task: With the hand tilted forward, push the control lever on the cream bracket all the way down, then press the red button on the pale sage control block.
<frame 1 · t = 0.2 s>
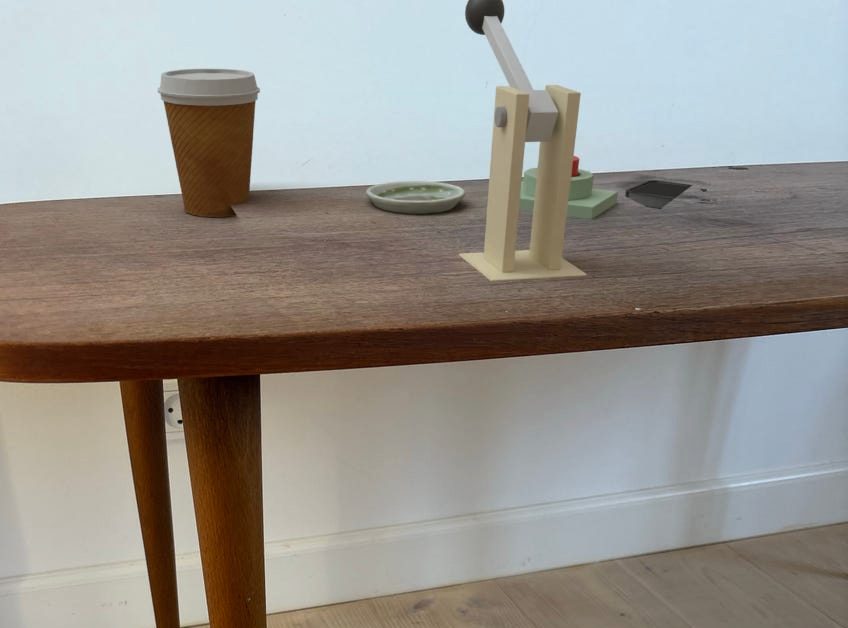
start button: (559, 167, 102), point 5 cm above the table, slide at 0.2 cm
saucer: (414, 218, 104), on the table
control block: (554, 216, 104), on the table
lever bracket: (520, 278, 86), on the table
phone: (703, 207, 109), on the table
disposable coffee cup: (216, 212, 105), on the table
control lever: (508, 61, 83), point 15 cm above the table, hinge at 25.0°
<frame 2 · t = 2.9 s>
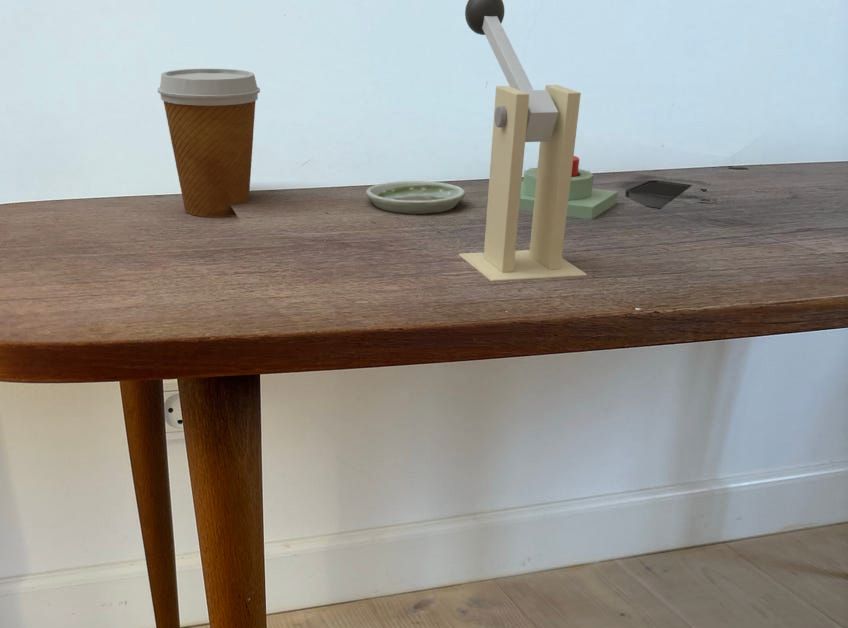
nothing on the table moved.
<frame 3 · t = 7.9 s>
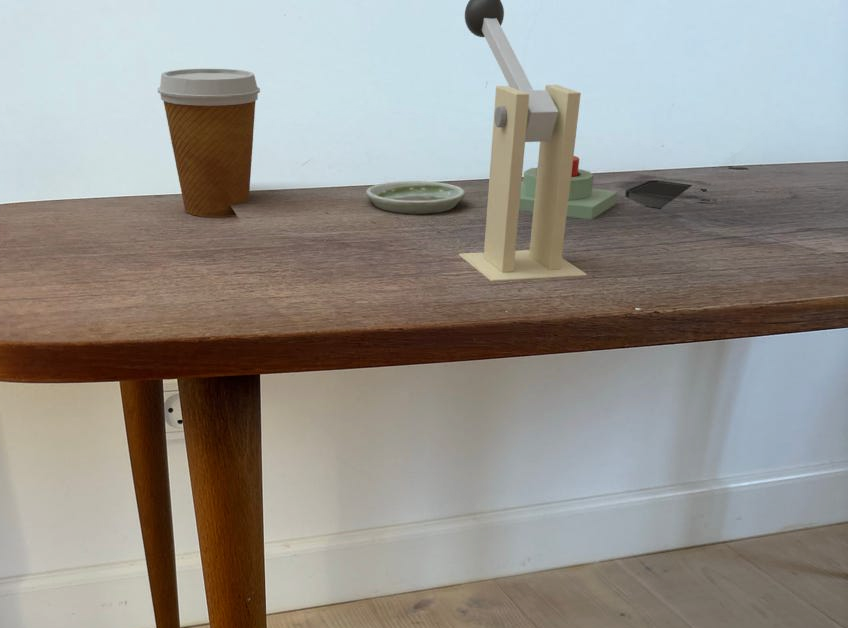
control lever: (508, 62, 83), point 15 cm above the table, hinge at 24.2°, touching gripper
everything else where it was.
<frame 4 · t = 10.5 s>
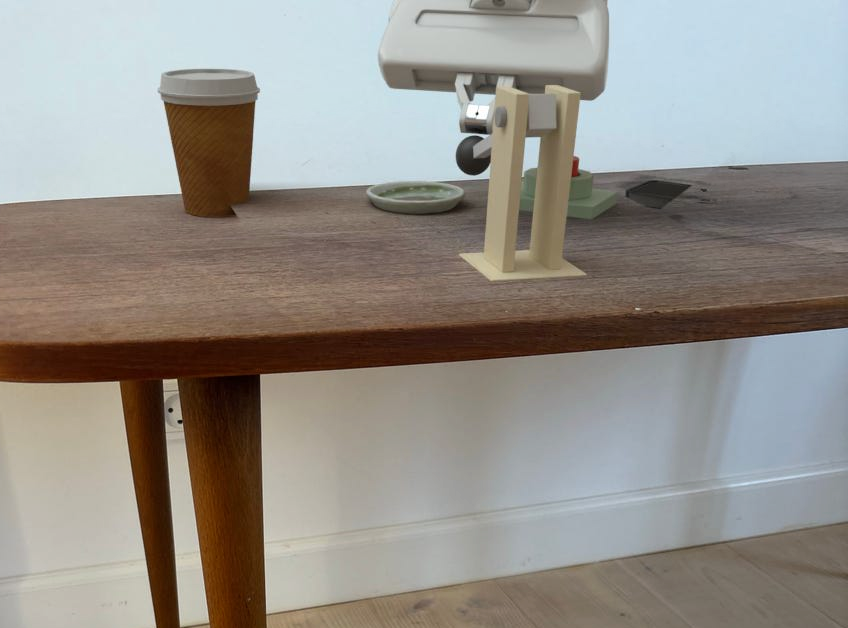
hand: (475, 129, 91), 9 cm above the table, tool tilted 45°, fingers closed, pressing on control lever
control lever: (501, 137, 86), point 9 cm above the table, hinge at -20.7°, touching gripper
everything else where it was.
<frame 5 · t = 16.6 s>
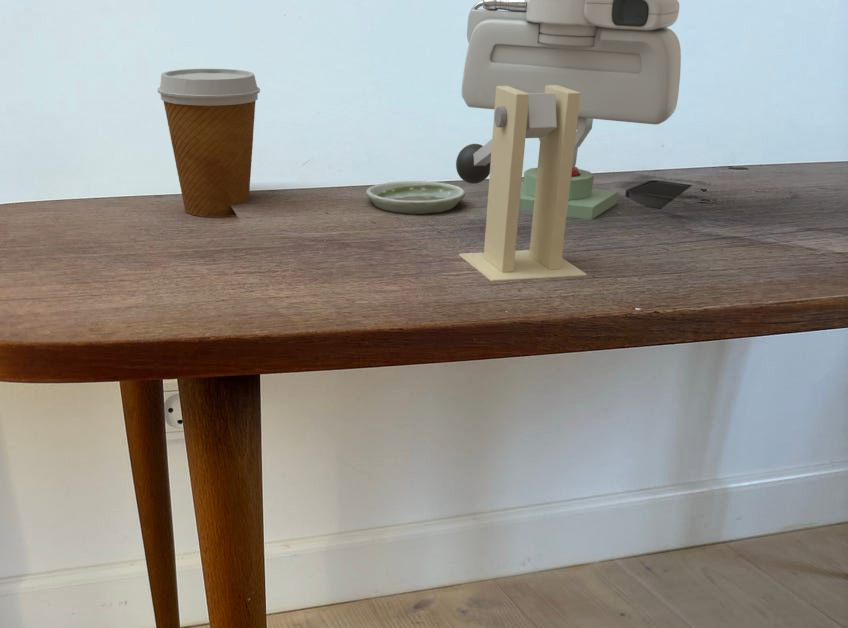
hand: (558, 167, 102), 5 cm above the table, tool pointing down, fingers closed, pressing on start button
start button: (558, 177, 102), point 4 cm above the table, slide at -0.8 cm, touching gripper
control lever: (501, 142, 86), point 9 cm above the table, hinge at -23.4°
everything else where it was.
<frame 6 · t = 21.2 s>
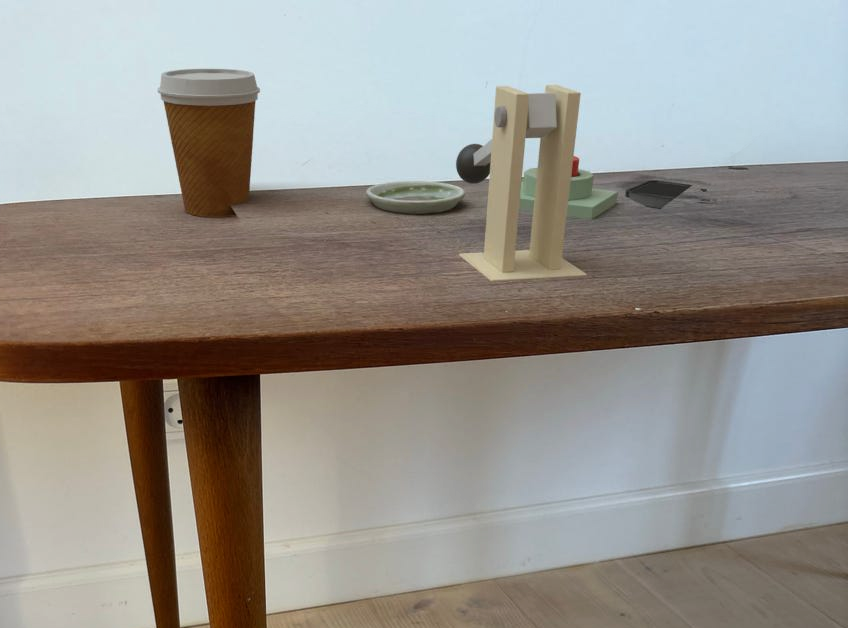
start button: (559, 167, 102), point 5 cm above the table, slide at 0.1 cm
everything else where it was.
at the end: control lever at -23° (first picture: +25°); start button pushed in 1.0 cm at the most during the clip, back to where it started at the end; start button slide at 0.1 cm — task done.
